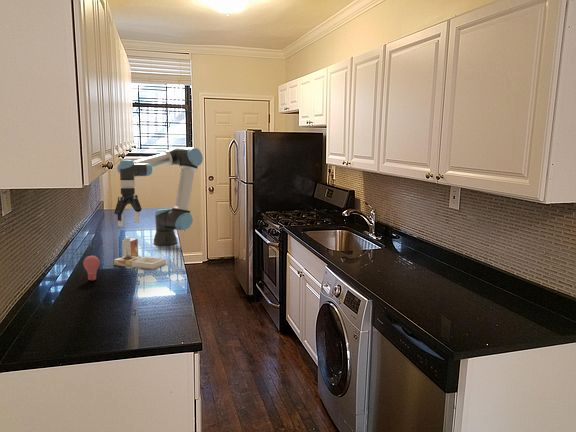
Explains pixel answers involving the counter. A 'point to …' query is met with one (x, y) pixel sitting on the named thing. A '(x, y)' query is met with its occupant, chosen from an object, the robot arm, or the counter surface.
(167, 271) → the counter surface
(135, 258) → the tan square ring
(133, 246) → the small box
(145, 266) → the tray
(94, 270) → the light bulb
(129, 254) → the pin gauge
